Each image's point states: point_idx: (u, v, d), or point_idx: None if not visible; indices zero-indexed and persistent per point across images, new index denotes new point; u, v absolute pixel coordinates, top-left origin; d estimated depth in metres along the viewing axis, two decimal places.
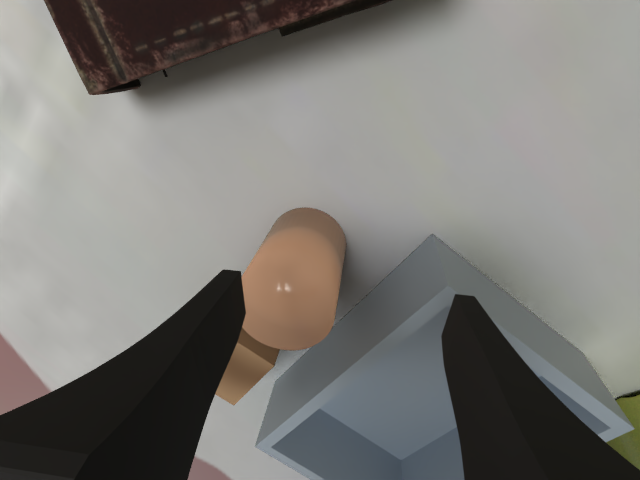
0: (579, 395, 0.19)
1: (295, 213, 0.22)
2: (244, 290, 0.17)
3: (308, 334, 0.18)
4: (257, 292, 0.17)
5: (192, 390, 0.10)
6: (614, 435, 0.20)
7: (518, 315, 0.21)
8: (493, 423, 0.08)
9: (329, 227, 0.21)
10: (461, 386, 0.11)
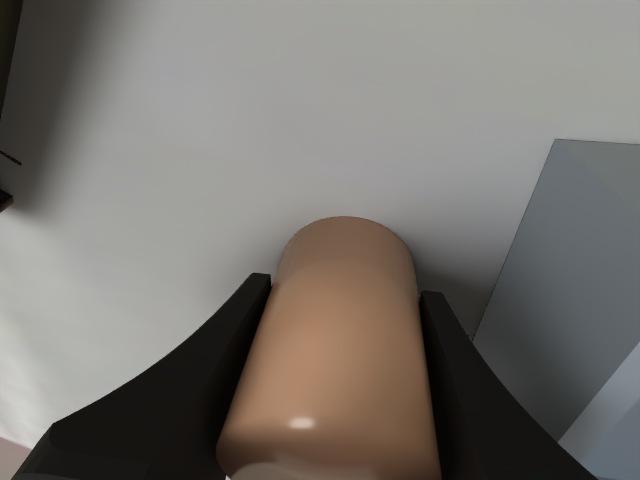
0: None
1: (291, 246, 0.12)
2: (237, 467, 0.09)
3: None
4: (258, 464, 0.08)
5: (229, 395, 0.10)
6: None
7: None
8: (447, 417, 0.08)
9: (351, 243, 0.11)
10: None
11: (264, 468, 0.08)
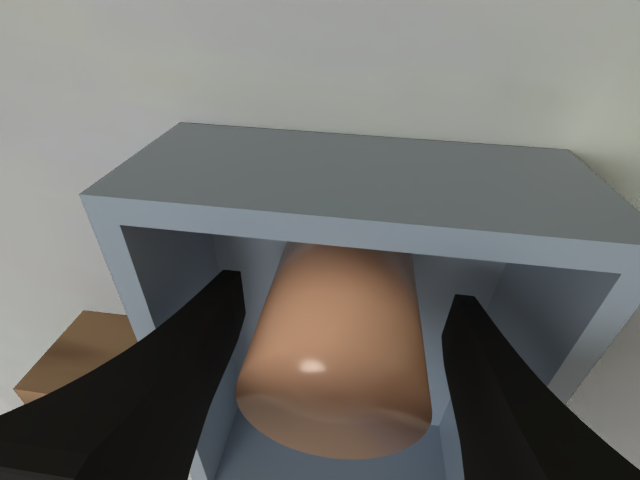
0: (486, 246, 0.08)
1: None
2: (253, 405, 0.10)
3: (398, 428, 0.09)
4: (273, 401, 0.09)
5: (192, 390, 0.10)
6: None
7: (346, 161, 0.11)
8: (493, 423, 0.08)
9: None
10: (461, 386, 0.11)
11: (277, 405, 0.10)
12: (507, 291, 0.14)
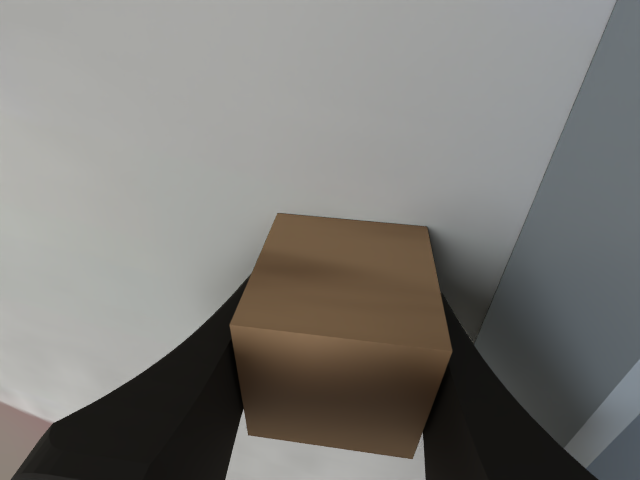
0: None
1: None
2: None
3: None
4: None
5: (229, 395, 0.10)
6: None
7: None
8: (447, 417, 0.08)
9: None
10: None
11: None
12: None
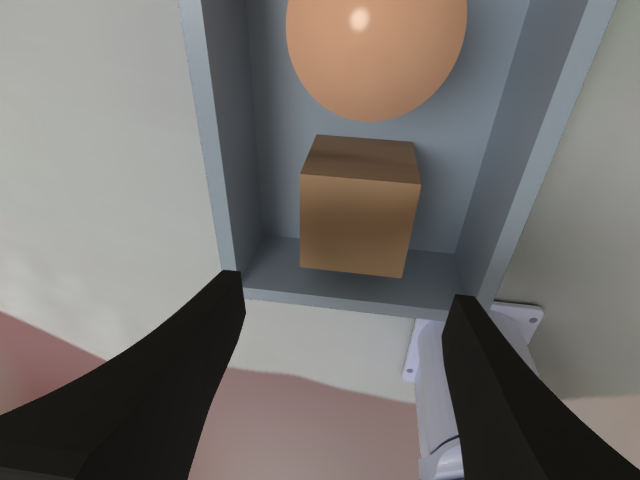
0: None
1: None
2: (301, 38, 0.11)
3: (434, 50, 0.10)
4: (320, 26, 0.10)
5: (192, 390, 0.10)
6: None
7: None
8: (493, 423, 0.08)
9: None
10: (461, 386, 0.11)
11: (324, 33, 0.10)
12: (526, 40, 0.15)
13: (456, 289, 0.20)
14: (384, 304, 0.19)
